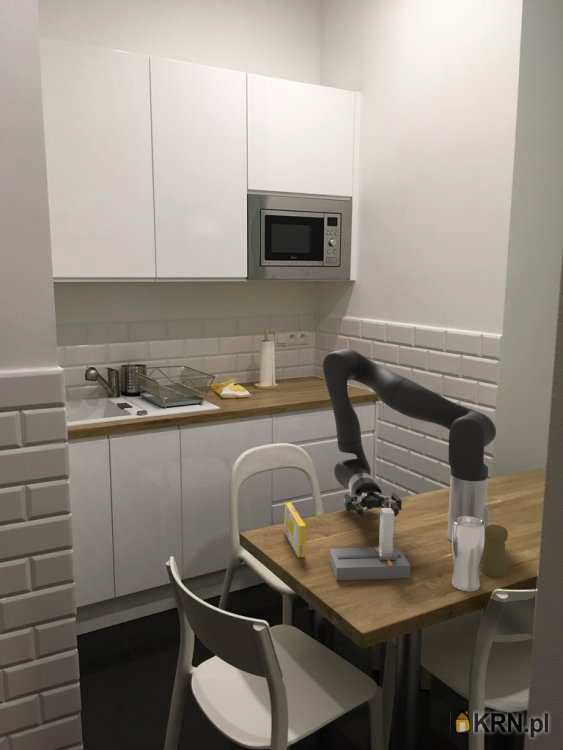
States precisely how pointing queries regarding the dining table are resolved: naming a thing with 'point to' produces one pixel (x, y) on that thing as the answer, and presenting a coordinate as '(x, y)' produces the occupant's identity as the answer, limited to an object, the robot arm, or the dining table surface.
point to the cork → (494, 552)
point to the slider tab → (386, 535)
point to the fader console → (367, 564)
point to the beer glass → (467, 552)
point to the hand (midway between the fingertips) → (378, 513)
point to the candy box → (295, 530)
